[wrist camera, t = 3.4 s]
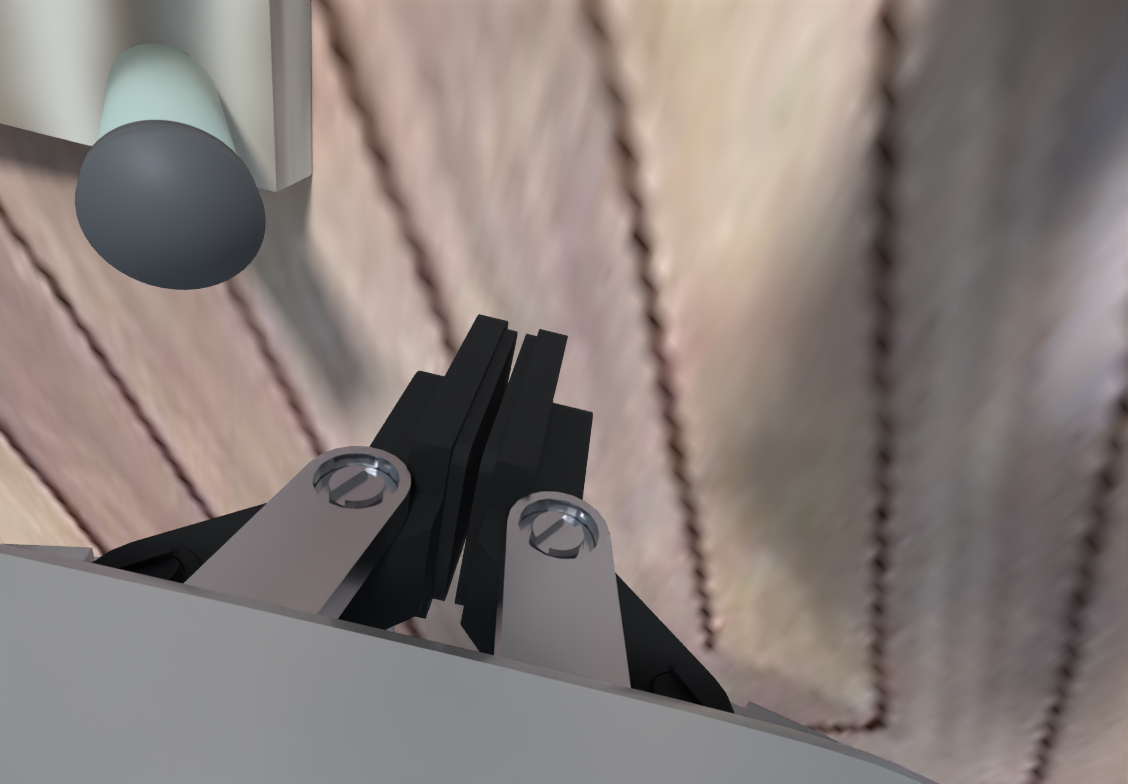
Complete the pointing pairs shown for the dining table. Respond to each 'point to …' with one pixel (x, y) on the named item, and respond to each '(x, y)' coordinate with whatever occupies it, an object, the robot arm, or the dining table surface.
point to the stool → (185, 22)
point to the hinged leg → (167, 177)
